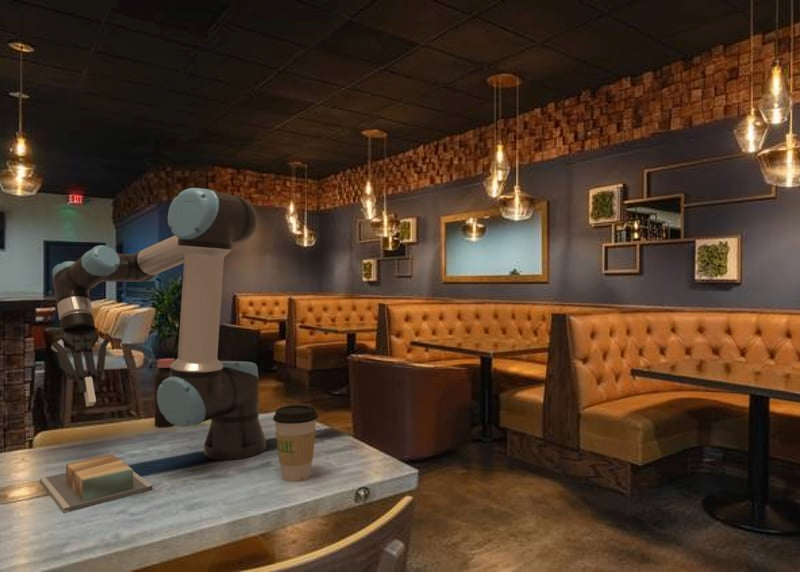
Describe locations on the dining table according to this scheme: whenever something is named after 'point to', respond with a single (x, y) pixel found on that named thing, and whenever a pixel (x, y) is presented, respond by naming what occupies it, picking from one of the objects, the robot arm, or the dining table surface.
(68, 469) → the oak slab
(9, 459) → the dining table surface
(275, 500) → the dining table surface
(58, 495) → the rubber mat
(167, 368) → the bottle
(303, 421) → the coffee cup
